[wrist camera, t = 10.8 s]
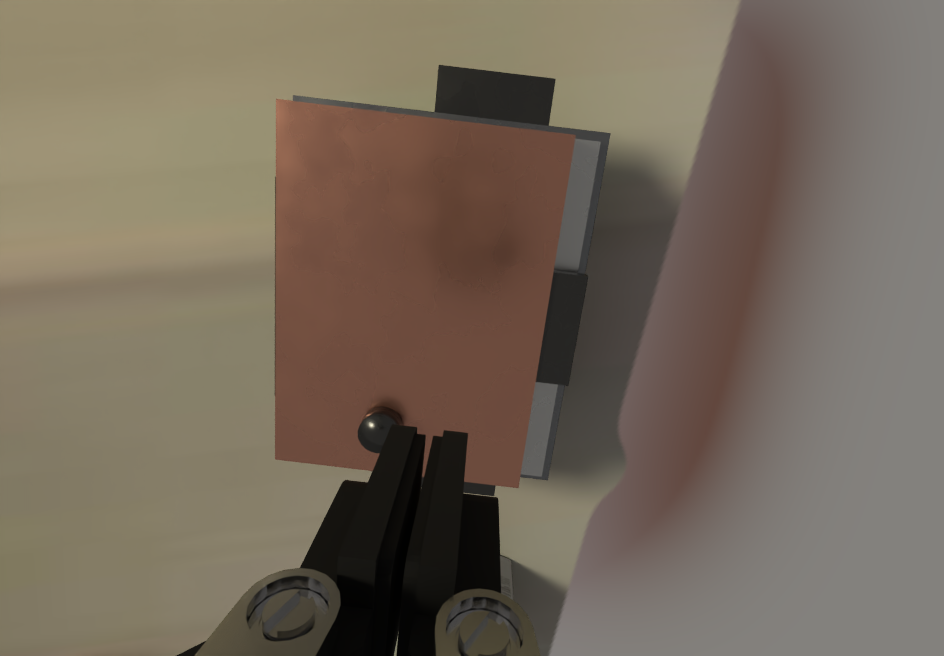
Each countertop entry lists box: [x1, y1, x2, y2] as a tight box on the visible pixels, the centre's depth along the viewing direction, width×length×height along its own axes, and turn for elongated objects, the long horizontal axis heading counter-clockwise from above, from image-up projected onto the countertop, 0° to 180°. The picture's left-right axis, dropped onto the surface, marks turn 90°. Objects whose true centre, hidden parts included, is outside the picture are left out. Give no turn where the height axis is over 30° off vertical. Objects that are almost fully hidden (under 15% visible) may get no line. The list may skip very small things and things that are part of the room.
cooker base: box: [293, 65, 610, 496], centre depth 32 cm, size 25×17×10 cm
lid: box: [275, 99, 588, 488], centre depth 25 cm, size 19×16×3 cm
